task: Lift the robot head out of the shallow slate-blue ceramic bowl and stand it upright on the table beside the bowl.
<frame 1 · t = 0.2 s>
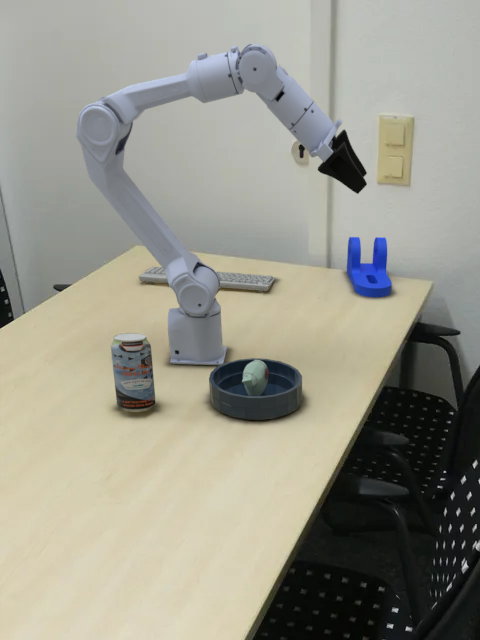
hand: (362, 183, 126), 31 cm above the table, tool tilted 50°, fingers open, 7 cm apart
bracket: (369, 285, 182), on the table
beverage can: (137, 408, 127), on the table
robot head: (256, 399, 131), resting on bowl
keyboard: (209, 282, 177), on the table
bowl: (256, 400, 131), on the table
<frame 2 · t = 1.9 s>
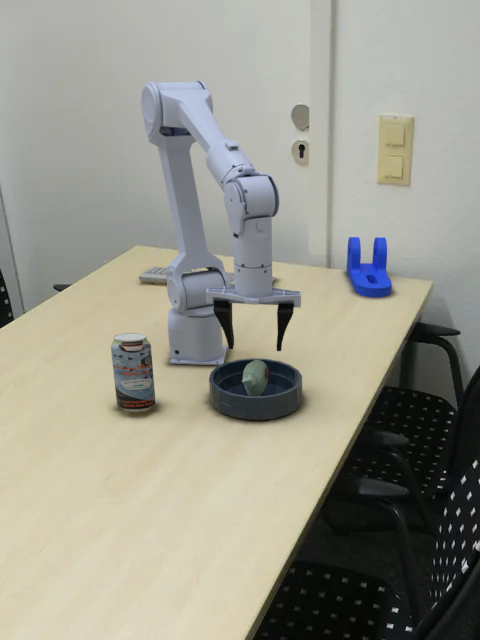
hand: (255, 347, 125), 9 cm above the table, tool pointing down, fingers open, 7 cm apart
nothing on the table moved.
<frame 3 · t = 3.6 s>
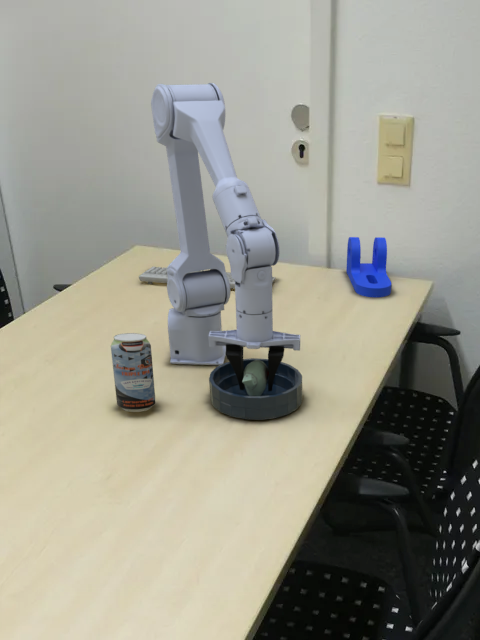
hand: (256, 388, 129), 2 cm above the table, tool pointing down, fingers closed on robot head, 4 cm apart
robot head: (256, 399, 131), resting on bowl, touching gripper
everything else where it was.
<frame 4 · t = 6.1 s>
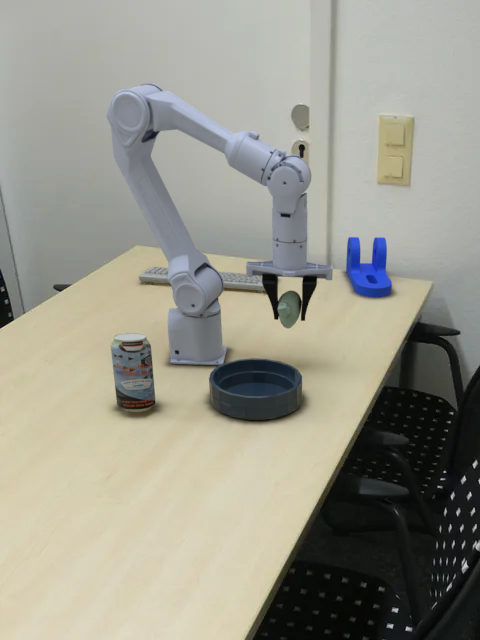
hand: (289, 318, 136), 9 cm above the table, tool pointing down, fingers closed on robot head, 4 cm apart
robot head: (289, 329, 138), point 7 cm above the table, touching gripper
everything else where it was.
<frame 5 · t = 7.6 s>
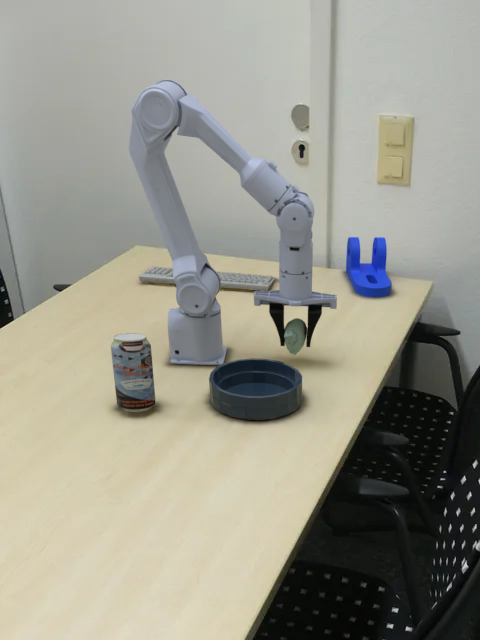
hand: (295, 344, 142), 3 cm above the table, tool pointing down, fingers closed on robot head, 4 cm apart
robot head: (295, 355, 143), point 1 cm above the table, touching gripper
everything else where it was.
when the fingers open (2 cm above the table, at t = 8.6 s): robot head stays where it is, on the table.
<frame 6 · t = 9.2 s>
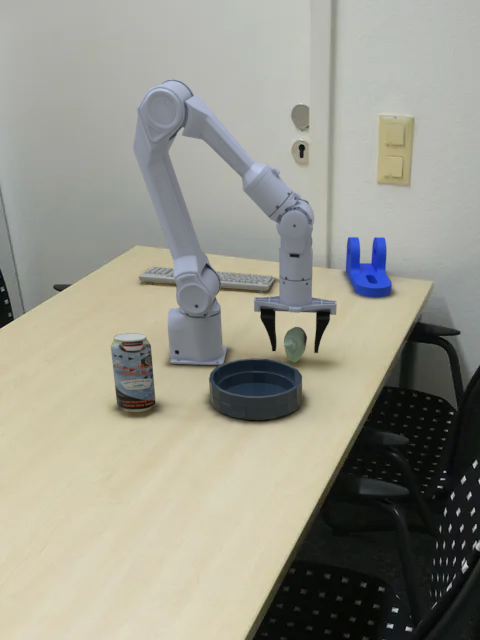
hand: (295, 350, 143), 2 cm above the table, tool pointing down, fingers open, 7 cm apart
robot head: (295, 363, 144), on the table
everything else where it was.
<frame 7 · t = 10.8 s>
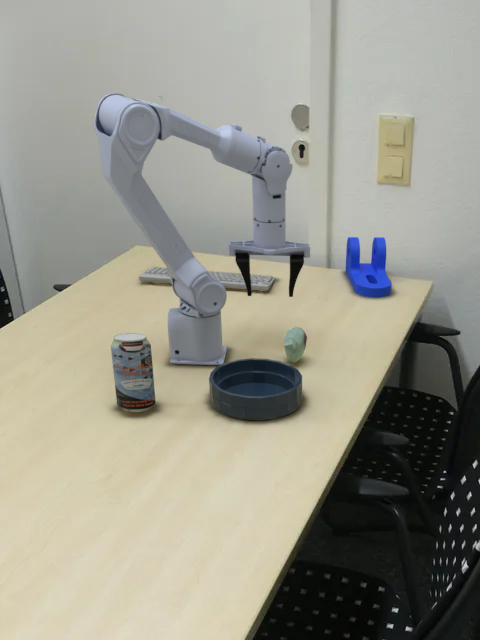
hand: (270, 294, 145), 9 cm above the table, tool pointing down, fingers open, 7 cm apart
nothing on the table moved.
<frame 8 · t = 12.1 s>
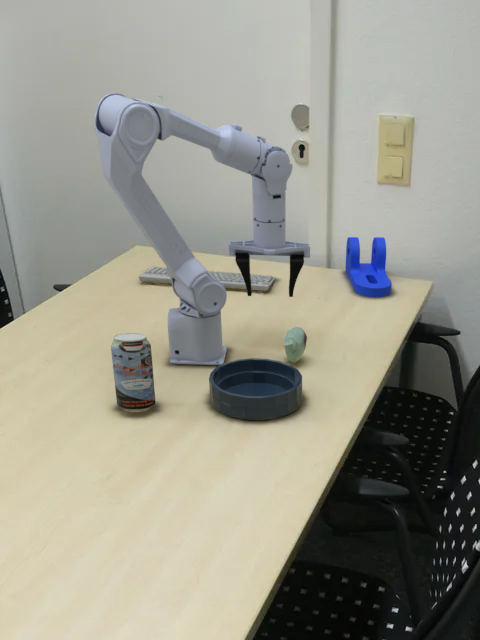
hand: (270, 294, 145), 9 cm above the table, tool pointing down, fingers open, 7 cm apart
nothing on the table moved.
at the end: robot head inside the target area (0.0 cm from its centre), on the table; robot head tilted 0°; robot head touching table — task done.
